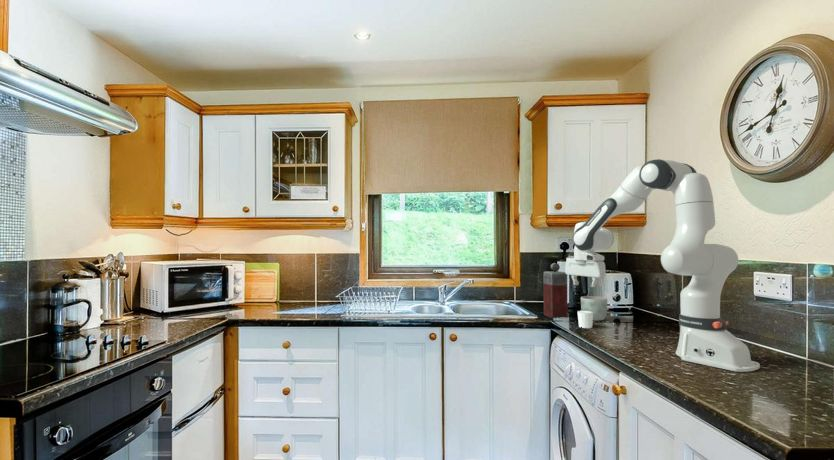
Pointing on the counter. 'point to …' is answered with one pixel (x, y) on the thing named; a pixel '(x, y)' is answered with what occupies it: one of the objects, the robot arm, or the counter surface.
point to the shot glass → (585, 319)
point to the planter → (595, 306)
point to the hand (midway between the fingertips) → (584, 285)
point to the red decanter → (555, 292)
